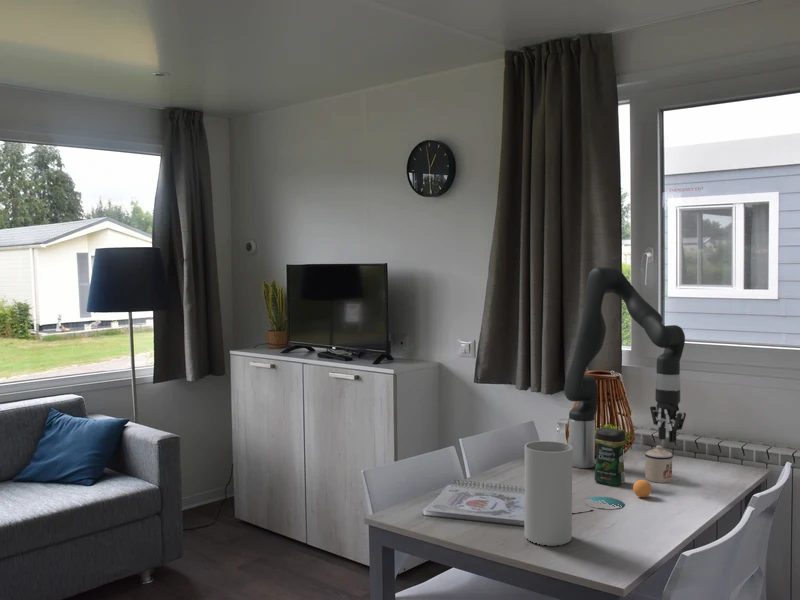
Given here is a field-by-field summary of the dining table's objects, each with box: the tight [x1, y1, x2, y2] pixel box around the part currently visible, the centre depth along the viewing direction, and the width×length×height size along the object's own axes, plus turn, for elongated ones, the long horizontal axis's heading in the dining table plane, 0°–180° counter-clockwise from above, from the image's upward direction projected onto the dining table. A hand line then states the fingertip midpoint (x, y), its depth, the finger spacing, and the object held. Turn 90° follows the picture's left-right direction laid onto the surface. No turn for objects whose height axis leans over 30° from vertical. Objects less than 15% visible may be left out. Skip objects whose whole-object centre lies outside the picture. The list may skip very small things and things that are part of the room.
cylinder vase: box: [523, 440, 573, 547], centre depth 198 cm, size 12×12×25 cm
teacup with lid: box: [644, 445, 674, 484], centre depth 255 cm, size 12×9×12 cm
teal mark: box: [586, 496, 625, 507], centre depth 228 cm, size 12×12×1 cm
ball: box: [632, 479, 652, 499], centre depth 234 cm, size 6×6×6 cm
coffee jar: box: [594, 426, 626, 487], centre depth 250 cm, size 10×8×19 cm
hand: (667, 440), depth 238 cm, fingers open, 3 cm apart
